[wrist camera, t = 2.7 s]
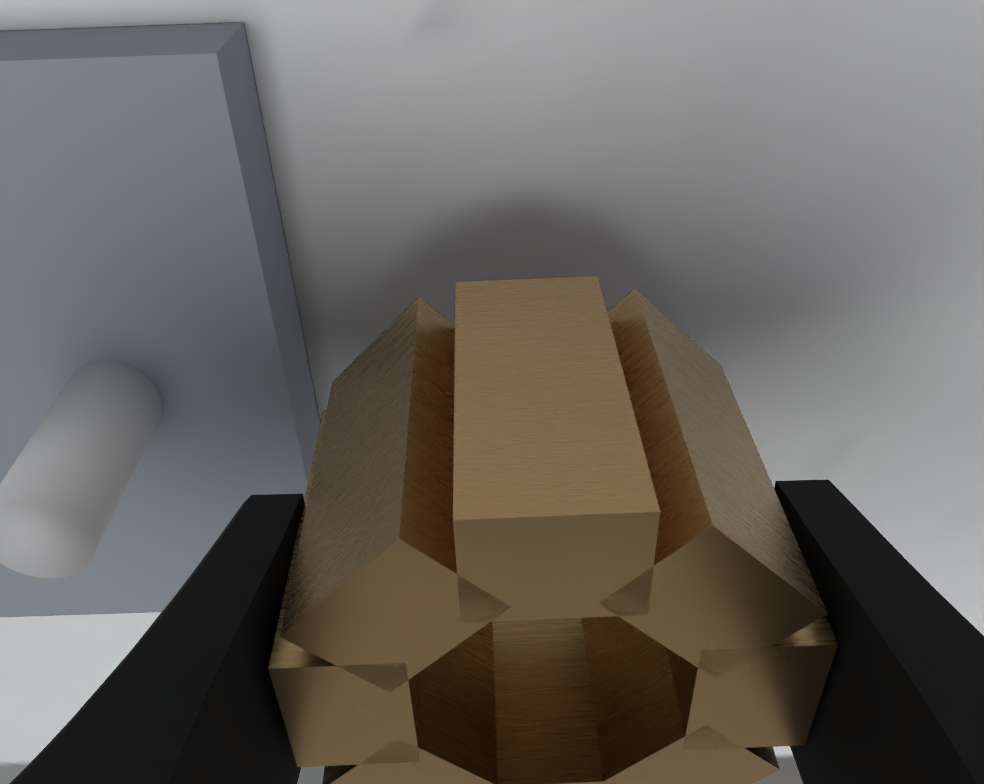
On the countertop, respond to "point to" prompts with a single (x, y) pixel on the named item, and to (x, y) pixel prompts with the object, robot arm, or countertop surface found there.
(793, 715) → the brown segmented ring
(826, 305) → the countertop surface
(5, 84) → the carrier plate
